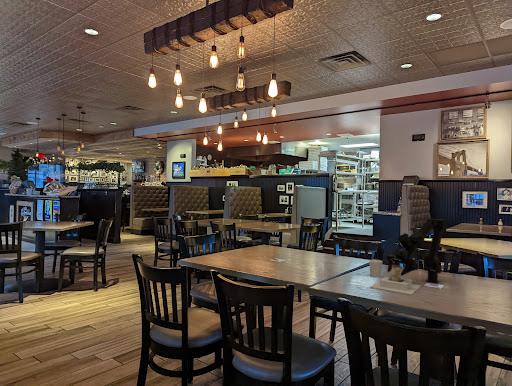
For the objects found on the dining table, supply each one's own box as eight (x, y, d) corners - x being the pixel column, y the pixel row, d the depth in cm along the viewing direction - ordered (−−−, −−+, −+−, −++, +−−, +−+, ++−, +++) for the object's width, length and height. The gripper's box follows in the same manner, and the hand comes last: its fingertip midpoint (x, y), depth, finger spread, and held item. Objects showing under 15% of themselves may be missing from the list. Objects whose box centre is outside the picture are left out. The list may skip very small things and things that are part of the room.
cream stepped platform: (382, 280, 218) (382, 273, 218) (421, 286, 205) (421, 279, 205) (369, 287, 199) (370, 280, 199) (411, 295, 186) (411, 287, 186)
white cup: (373, 277, 224) (374, 262, 224) (366, 274, 231) (367, 259, 231) (384, 277, 226) (384, 261, 226) (377, 274, 234) (377, 259, 234)
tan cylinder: (398, 285, 204) (399, 264, 204) (401, 287, 199) (401, 266, 199) (390, 284, 204) (390, 264, 204) (392, 287, 199) (393, 266, 199)
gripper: (388, 241, 212) (374, 261, 206) (415, 246, 195) (401, 267, 190) (396, 253, 215) (383, 273, 210) (424, 259, 199) (410, 280, 194)
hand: (394, 273), depth 201 cm, fingers open, 9 cm apart
